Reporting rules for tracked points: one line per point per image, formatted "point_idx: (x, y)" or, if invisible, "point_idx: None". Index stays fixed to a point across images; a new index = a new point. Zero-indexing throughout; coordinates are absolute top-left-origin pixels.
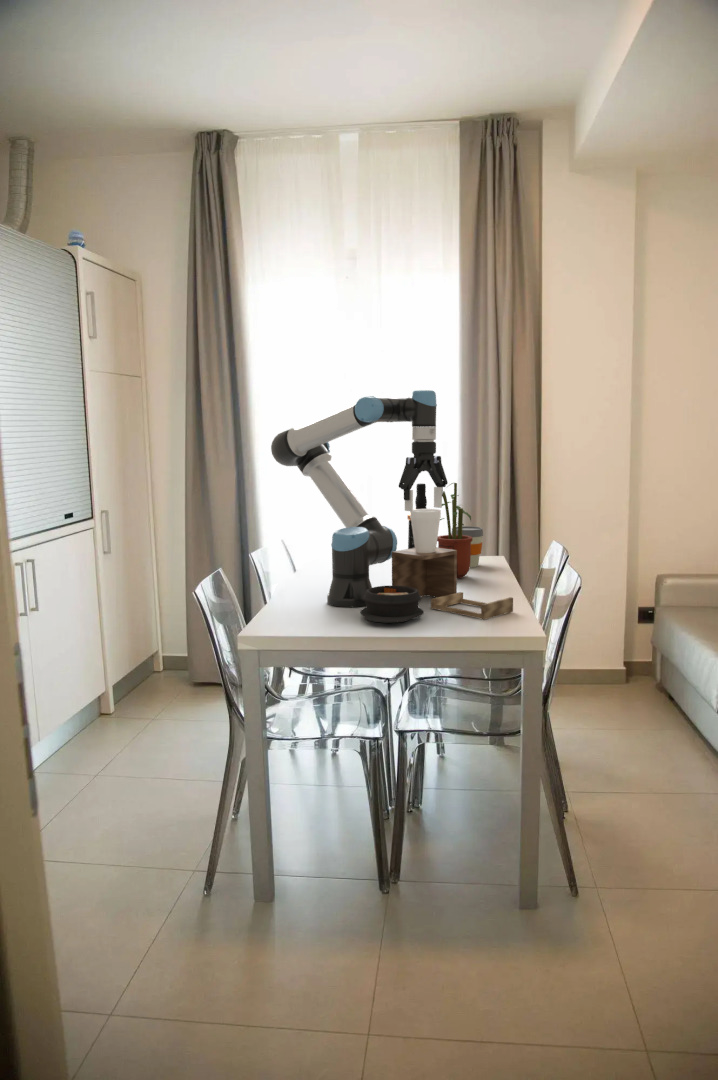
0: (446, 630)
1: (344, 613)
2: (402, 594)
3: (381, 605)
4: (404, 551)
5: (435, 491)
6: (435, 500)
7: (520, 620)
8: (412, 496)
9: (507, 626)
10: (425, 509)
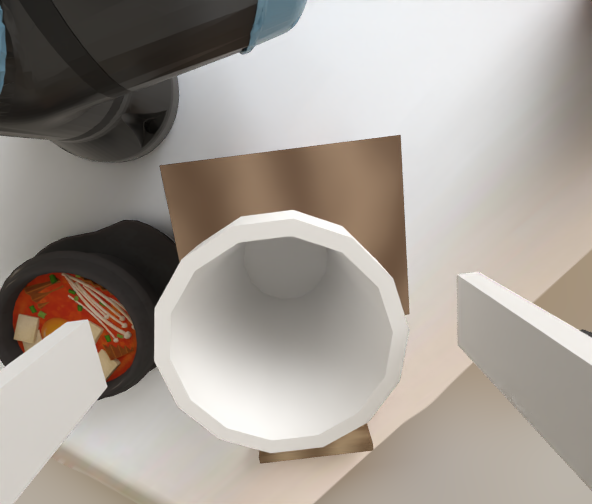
0: (145, 446)
1: (25, 193)
2: (115, 329)
3: None
4: (211, 198)
5: (568, 375)
6: (490, 321)
7: (323, 473)
8: (10, 499)
9: (266, 488)
10: (356, 265)
